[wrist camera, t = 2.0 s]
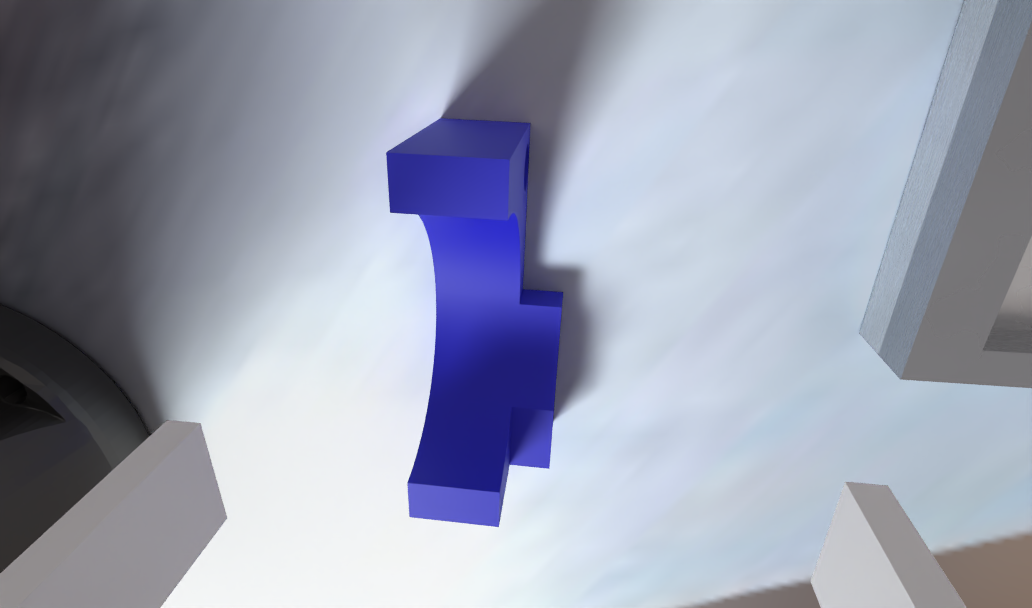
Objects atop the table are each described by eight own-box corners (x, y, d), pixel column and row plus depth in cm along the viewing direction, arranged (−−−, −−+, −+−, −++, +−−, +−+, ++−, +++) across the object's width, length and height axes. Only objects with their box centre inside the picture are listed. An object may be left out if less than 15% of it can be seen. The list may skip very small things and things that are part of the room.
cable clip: (552, 419, 24) (544, 532, 19) (448, 409, 24) (409, 516, 19) (576, 124, 19) (573, 163, 13) (441, 117, 19) (386, 152, 14)
